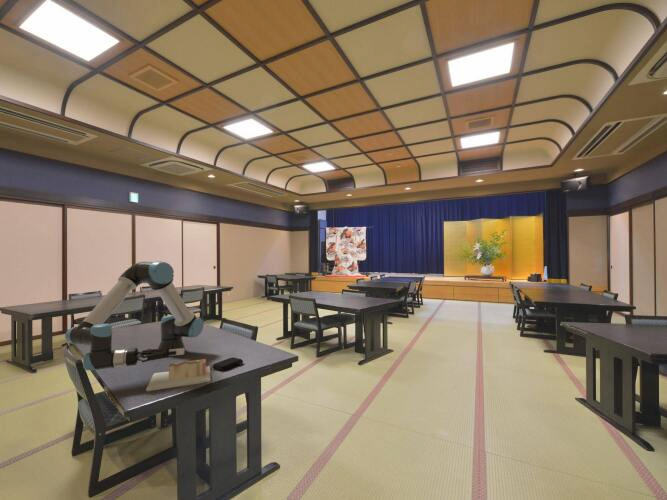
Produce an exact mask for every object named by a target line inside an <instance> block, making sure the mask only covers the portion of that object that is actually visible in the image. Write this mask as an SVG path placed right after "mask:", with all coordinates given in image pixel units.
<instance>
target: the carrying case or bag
mask: <svg viewBox="0 0 667 500" xmlns="http://www.w3.org/2000/svg"><path fill="white" fill-rule="evenodd" d="M243 363H244V361H243V359H242V358H238V357H233V356H232V357H229V358H225V359H223V360H220V361H217V362H215V363H213V365H212V369H213V370H216V371H220V372H225V371H228V370H231V369H233V368H236V367H238V366H240V365H242V364H243Z"/></svg>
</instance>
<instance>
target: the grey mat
mask: <svg viewBox="0 0 667 500" xmlns="http://www.w3.org/2000/svg"><path fill="white" fill-rule="evenodd" d="M150 378H151V379H150V380H149V381H148V382H149V383H148V384H147V387H146V389H145V390H146V391H145V392H150V391H157V390H158V391H159V390H163V389H164V390H165V389H171V388H177V387H184V386H191V385H197V384H198V385H199V384H204V383H205V382H206V383H210V382H211V365H208V366H207V365H206V375H203V376H196V377H189V378H181V379H174V380H169V370H168V371H162V372H161V371H160V372H154V373H153V375H152V376H151V377H150Z"/></svg>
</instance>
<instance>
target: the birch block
mask: <svg viewBox="0 0 667 500" xmlns="http://www.w3.org/2000/svg"><path fill="white" fill-rule="evenodd" d="M206 362H207V360H206V358H203V359H195V360H188V361H187V360H186V361H178V362H171V363H169V366H168V371H169V380H174V379H181V378H189V377H196V376H203V375H206V366H207V364H206Z"/></svg>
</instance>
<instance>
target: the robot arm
mask: <svg viewBox="0 0 667 500" xmlns="http://www.w3.org/2000/svg"><path fill="white" fill-rule="evenodd" d="M174 277H175V275H174V268H173V266H172V265H171V264H169V263H168V262H165V261H161V260H160V261H139V262H136V263H134V264H133V265H131V266H130V267H129V268H127V269H126V270H125V271H124V272H123V273H121V274H120V276H119V277H118V278H117V283H115V285H114V286H113V287H112V288H111V289H110V290H109V291H108V292H107V294H106V295H105V296H104V297H103V298H102V299H101V300H100V301H99V302H98V303H97V304H96V306H95V307H94V308H93V309H92V310H91V311H90V312H89V313H88V315H87V316H85V318H84V319H83V320H82V321H81V322H80V323H79V324H78V325H77V326H73V327H71V328H69V329H68V330H67V331H66V333H65V335H64V338H65V340H66V342H67V343H69V344H74V345H84V346H90V351H89V352H87V353H85V354H84V357H83V360H82V367H83V369H84V370H85V371H94V370H95V371H99V370H105V369H112V368H118V369H121V367H126V366H127V367H129V366H130V367H132V366H137V364H138V362H142V363H146V362H150V361H156V360H161V359H169V357H173V356H182V355H185V351H186V346H185V343H184V340H183V338H191V339H192V338H197V337H199V336H200V335H201V333H202V332H203V329H204V326H205V325H204V324H205V323H204V320H203V319H202V318H201V317H197V316H196V314H195V312H193V311H190V310H189V308H188V306H187V305H186V303H185V301H184V300H183V297H182V296H181V295H180V293H179V292H178V290H177V288H176V286H175V285H174V282H173V281H174ZM141 284H148V285H149V287H150V288H151V289H152V291H156V292H157V293H158V296H160V298H161V300H162V301H163V302H164V304H165V306H166V307H167V309H168V310H169V312H170V313H171V315H165V316H162V317H161V319H160V321H161V322H160V342H159V345H158V347H157V348H153V349H151V348H147V349H146V350H145V349H144V350H142V351H139V349H138V348H137V347H136V348H135V347H134V348H133V347H132V348H128V349H126V348H124V349H123V348H122V349H114V350H112V346H113V345H112V342H113V341H112V340H113V331H112V330H113V328H112V324H110V323H105V322H106V321H107V320H108V318H109V317H110V316H111V315H113V313H114V312H115V310H116V309H117V308H118V307H119V306H120V305H121V303H122V302H123V301H124V300H125V299H126V298H127V297H128V295H129V294H130V293H131V291H132V290H135V289H136V288H137V287H139V286H140V285H141Z"/></svg>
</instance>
